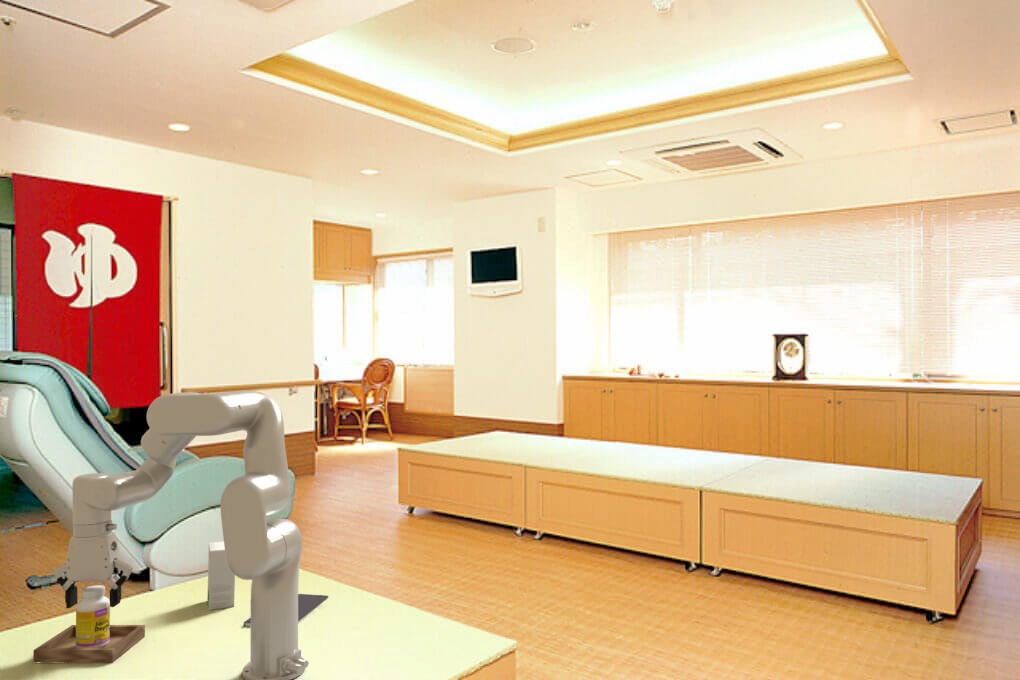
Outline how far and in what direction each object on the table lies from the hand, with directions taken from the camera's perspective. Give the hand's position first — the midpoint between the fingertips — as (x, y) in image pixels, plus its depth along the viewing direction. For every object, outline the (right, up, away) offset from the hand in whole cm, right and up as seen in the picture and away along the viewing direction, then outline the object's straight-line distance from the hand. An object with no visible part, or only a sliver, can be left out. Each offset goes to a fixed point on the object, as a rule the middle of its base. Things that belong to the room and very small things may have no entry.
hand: (93, 605), depth 164 cm
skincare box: (+17, -10, +29) cm, 35 cm away
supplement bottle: (0, -9, 0) cm, 9 cm away
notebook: (+37, -11, +23) cm, 45 cm away
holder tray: (-1, -10, 0) cm, 10 cm away
